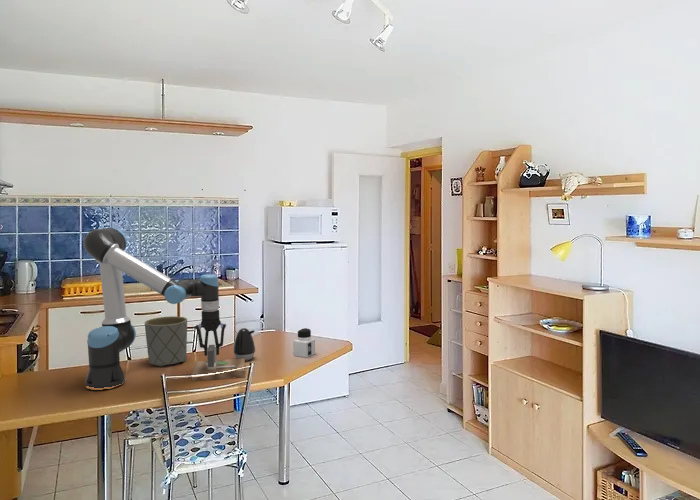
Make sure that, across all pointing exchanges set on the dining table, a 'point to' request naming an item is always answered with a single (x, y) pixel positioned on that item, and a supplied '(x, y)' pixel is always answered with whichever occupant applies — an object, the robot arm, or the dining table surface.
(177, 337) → the planter
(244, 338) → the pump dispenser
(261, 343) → the dining table surface
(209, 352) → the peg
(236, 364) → the tuner board
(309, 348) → the container
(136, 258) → the robot arm
